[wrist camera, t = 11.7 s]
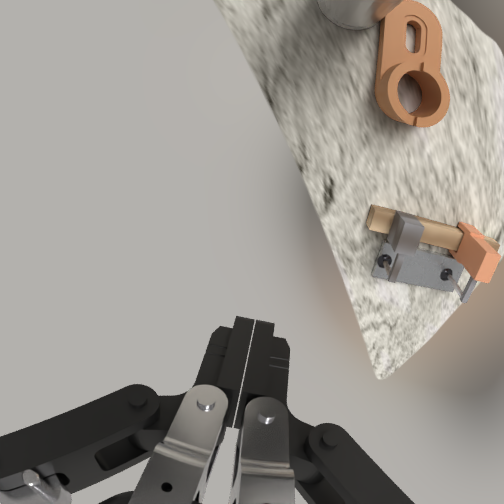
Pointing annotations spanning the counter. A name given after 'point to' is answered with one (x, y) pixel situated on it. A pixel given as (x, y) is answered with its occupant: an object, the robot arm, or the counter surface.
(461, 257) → the block
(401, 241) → the trammel bar
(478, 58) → the counter surface
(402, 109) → the bracket
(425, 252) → the strip
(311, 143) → the counter surface
